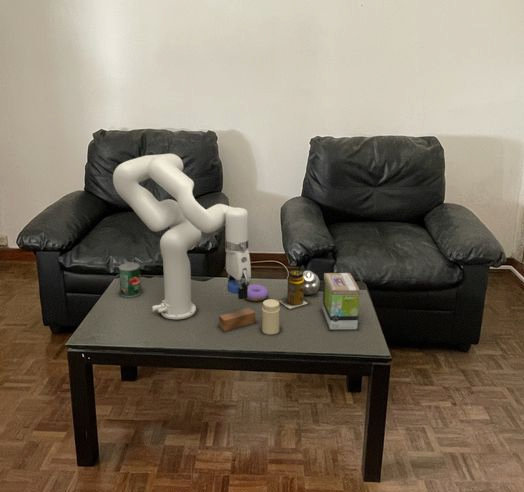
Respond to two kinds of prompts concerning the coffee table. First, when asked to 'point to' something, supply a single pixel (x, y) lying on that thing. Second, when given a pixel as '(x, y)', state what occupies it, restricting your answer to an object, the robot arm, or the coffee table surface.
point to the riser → (237, 319)
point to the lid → (233, 286)
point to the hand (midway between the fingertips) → (237, 293)
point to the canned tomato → (130, 279)
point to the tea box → (340, 301)
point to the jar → (270, 317)
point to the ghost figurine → (310, 283)
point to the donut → (257, 293)
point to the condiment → (295, 290)
